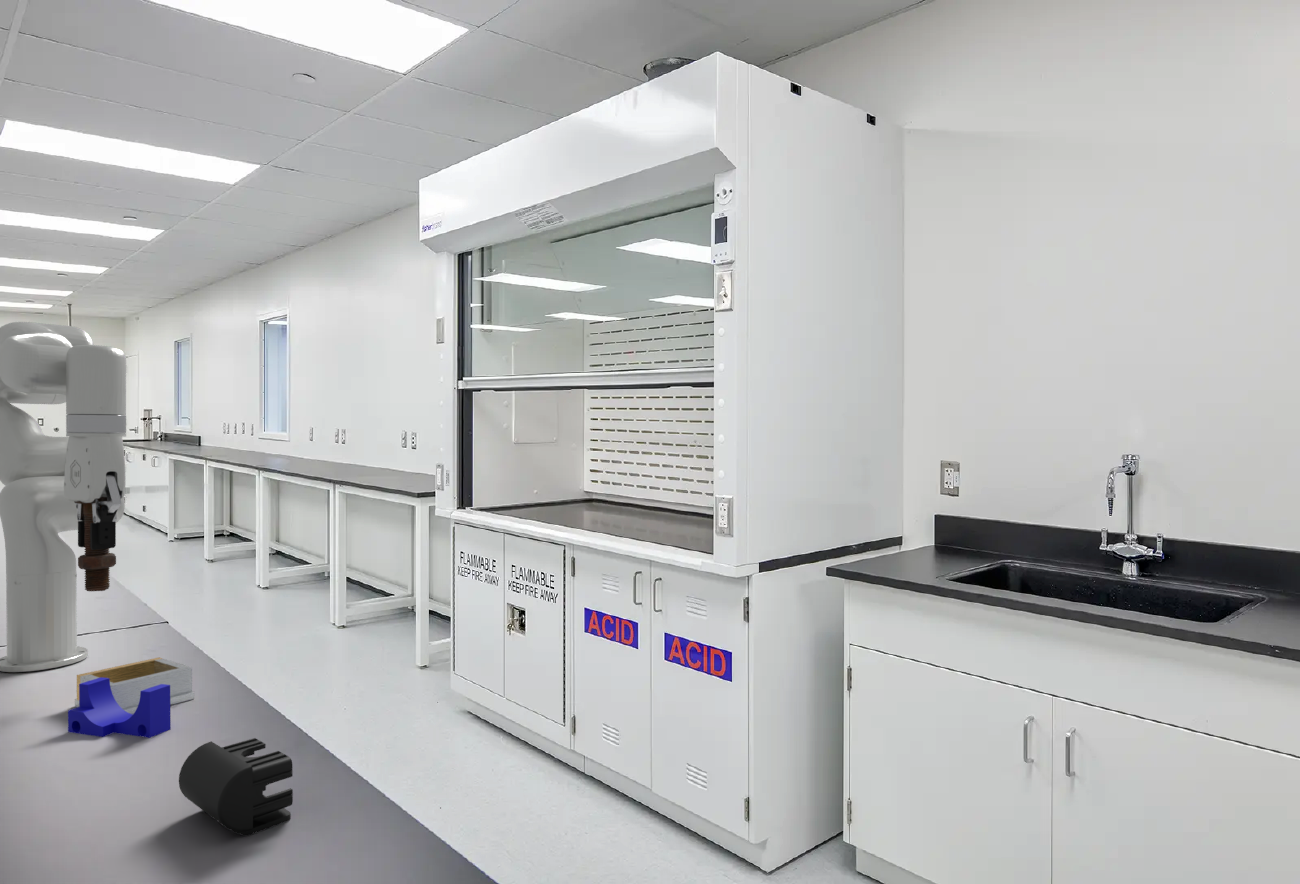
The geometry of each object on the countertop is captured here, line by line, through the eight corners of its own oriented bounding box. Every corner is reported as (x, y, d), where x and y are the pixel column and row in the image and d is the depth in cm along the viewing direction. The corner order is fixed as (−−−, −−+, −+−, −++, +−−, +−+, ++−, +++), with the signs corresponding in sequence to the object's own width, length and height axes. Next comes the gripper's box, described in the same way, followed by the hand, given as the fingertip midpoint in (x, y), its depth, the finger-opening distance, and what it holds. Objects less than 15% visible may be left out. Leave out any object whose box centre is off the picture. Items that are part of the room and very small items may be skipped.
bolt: (94, 594, 117) (93, 493, 117) (65, 593, 118) (65, 493, 118) (127, 587, 123) (126, 491, 123) (100, 586, 124) (99, 490, 124)
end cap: (178, 817, 79) (177, 749, 79) (251, 792, 85) (250, 729, 85) (218, 850, 73) (218, 776, 73) (295, 821, 78) (294, 753, 78)
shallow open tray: (74, 706, 113) (74, 674, 112) (157, 685, 122) (157, 656, 122) (109, 721, 106) (109, 687, 106) (194, 698, 116) (194, 667, 116)
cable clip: (68, 733, 103) (67, 687, 103) (101, 721, 107) (101, 677, 107) (139, 743, 99) (138, 695, 99) (170, 730, 103) (170, 684, 103)
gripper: (45, 427, 122) (45, 545, 122) (92, 426, 113) (92, 555, 113) (100, 427, 128) (100, 540, 129) (149, 427, 119) (149, 549, 119)
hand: (96, 546), depth 121 cm, fingers closed on bolt, 3 cm apart
